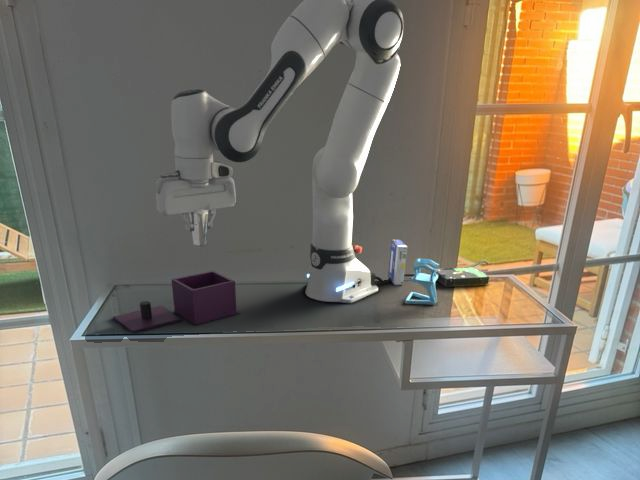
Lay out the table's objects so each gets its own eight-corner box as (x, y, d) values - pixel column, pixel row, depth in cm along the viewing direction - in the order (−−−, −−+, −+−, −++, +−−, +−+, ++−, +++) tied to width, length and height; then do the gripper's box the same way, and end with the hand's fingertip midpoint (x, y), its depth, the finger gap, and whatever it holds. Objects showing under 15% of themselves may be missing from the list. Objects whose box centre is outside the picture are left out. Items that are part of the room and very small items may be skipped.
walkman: (387, 276, 188) (391, 238, 181) (396, 276, 188) (400, 238, 182) (394, 285, 181) (398, 245, 175) (403, 284, 182) (407, 245, 175)
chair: (433, 307, 166) (439, 265, 159) (404, 303, 168) (409, 261, 162) (438, 299, 172) (444, 258, 165) (410, 294, 174) (415, 254, 168)
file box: (215, 302, 164) (213, 270, 159) (236, 313, 157) (235, 281, 152) (174, 312, 157) (171, 279, 152) (195, 324, 150) (192, 290, 145)
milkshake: (208, 248, 145) (206, 205, 139) (188, 245, 145) (185, 203, 140) (215, 243, 148) (213, 202, 143) (195, 241, 149) (192, 199, 144)
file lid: (160, 307, 159) (158, 291, 156) (180, 320, 152) (179, 303, 149) (113, 318, 151) (110, 301, 149) (132, 333, 144) (130, 315, 142)
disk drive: (445, 288, 181) (488, 284, 184) (446, 279, 179) (490, 276, 183) (431, 277, 189) (473, 274, 193) (432, 268, 188) (474, 266, 191)
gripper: (160, 175, 130) (167, 238, 137) (238, 167, 141) (240, 226, 149) (147, 170, 134) (154, 232, 141) (224, 163, 145) (226, 221, 153)
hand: (199, 229), depth 145 cm, fingers closed on milkshake, 4 cm apart
